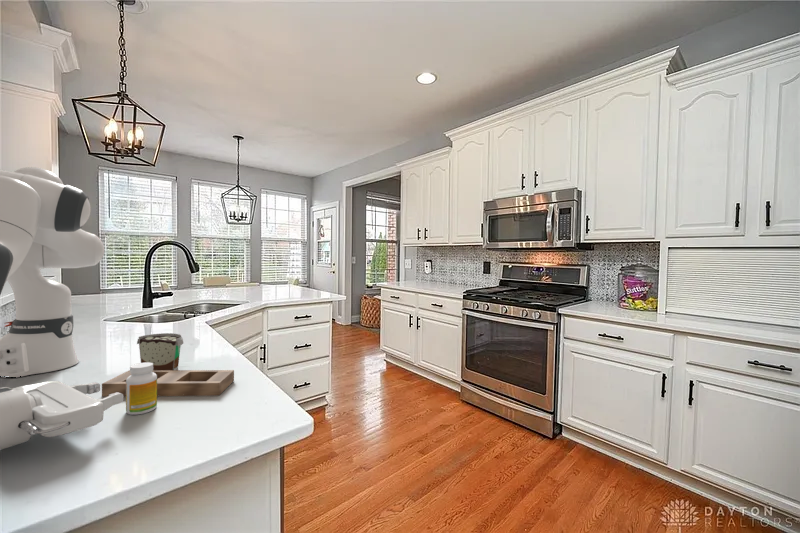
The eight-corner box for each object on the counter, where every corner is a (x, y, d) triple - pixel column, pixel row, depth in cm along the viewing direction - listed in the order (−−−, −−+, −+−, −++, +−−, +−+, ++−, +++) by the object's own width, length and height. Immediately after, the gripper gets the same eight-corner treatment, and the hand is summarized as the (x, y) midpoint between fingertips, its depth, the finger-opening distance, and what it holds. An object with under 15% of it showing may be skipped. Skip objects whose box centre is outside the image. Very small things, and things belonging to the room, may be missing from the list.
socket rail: (101, 396, 82) (101, 383, 82) (128, 381, 91) (128, 370, 91) (219, 395, 84) (219, 383, 84) (233, 381, 94) (234, 370, 93)
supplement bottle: (162, 407, 77) (162, 363, 77) (135, 417, 72) (135, 370, 72) (147, 402, 79) (147, 359, 79) (120, 412, 74) (120, 366, 74)
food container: (193, 368, 103) (193, 334, 103) (178, 375, 97) (178, 338, 97) (154, 365, 104) (154, 331, 104) (136, 372, 98) (136, 336, 98)
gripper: (33, 415, 53) (136, 386, 65) (-11, 387, 63) (87, 366, 75) (33, 456, 54) (136, 420, 66) (-10, 421, 63) (87, 395, 76)
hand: (109, 391), depth 71 cm, fingers open, 8 cm apart
